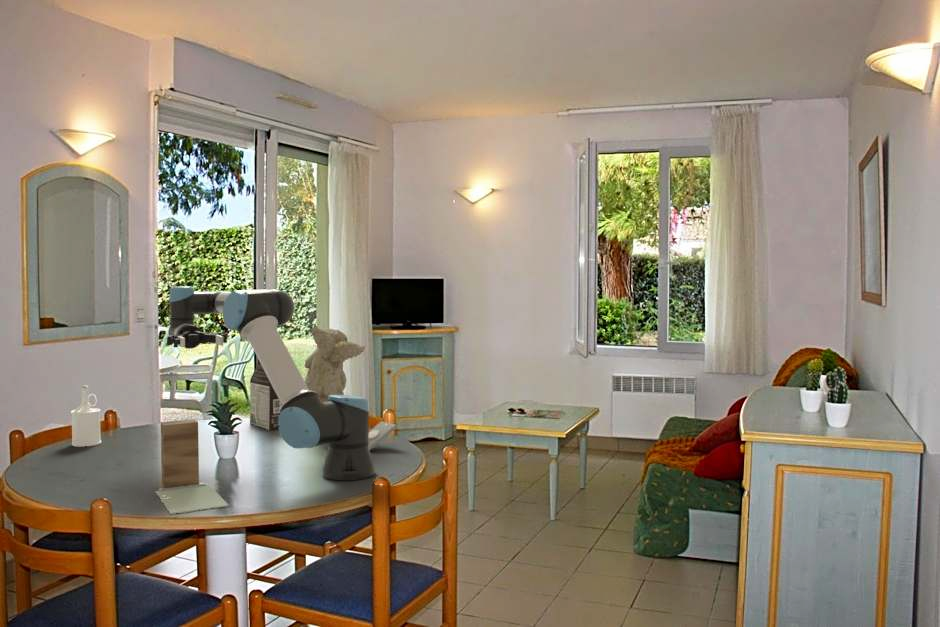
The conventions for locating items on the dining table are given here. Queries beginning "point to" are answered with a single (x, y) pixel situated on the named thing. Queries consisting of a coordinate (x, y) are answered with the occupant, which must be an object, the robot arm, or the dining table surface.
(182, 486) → the stop
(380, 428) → the light switch
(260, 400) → the protein powder
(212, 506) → the mat
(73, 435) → the white handled jug
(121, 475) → the dining table surface
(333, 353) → the sculpture
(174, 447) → the block
